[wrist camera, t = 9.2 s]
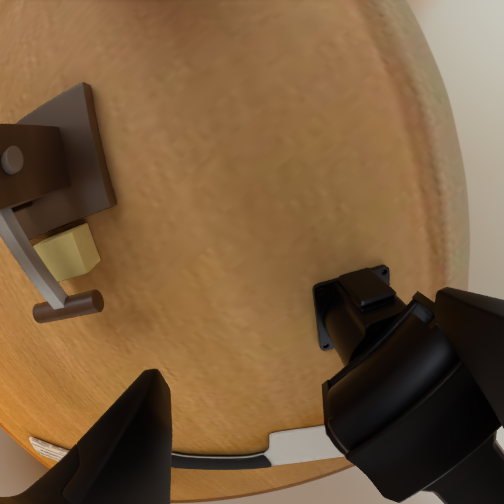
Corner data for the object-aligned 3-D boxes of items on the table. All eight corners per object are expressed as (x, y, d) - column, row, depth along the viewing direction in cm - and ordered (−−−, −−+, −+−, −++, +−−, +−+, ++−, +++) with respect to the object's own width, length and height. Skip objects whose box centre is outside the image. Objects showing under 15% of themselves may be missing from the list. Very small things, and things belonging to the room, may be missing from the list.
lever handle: (107, 294, 17) (100, 322, 15) (48, 307, 17) (39, 332, 15) (18, 127, 9) (-8, 142, 7) (-36, 172, 9) (-57, 191, 7)
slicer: (117, 203, 17) (45, 245, 9) (23, 241, 17) (-45, 286, 9) (90, 84, 14) (13, 54, 6) (-1, 141, 14) (-76, 152, 6)
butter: (101, 260, 18) (87, 274, 16) (60, 272, 18) (44, 286, 16) (87, 222, 17) (71, 231, 15) (46, 238, 17) (29, 248, 15)
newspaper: (155, 466, 29) (154, 476, 27) (165, 482, 31) (164, 491, 30) (31, 434, 27) (27, 441, 25) (48, 454, 29) (46, 461, 27)
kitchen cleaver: (409, 409, 28) (385, 452, 30) (404, 402, 29) (381, 445, 31) (158, 432, 24) (170, 474, 27) (160, 422, 26) (171, 465, 28)
